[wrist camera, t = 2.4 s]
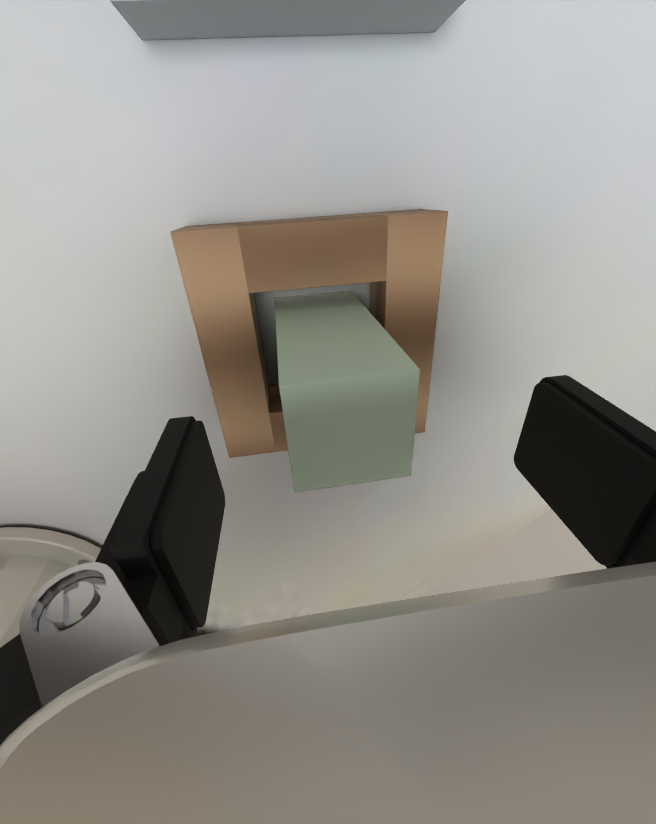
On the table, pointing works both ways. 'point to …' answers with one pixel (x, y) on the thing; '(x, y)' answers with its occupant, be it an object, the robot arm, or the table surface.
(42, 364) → the table surface
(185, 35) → the socket
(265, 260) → the socket
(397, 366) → the plug
